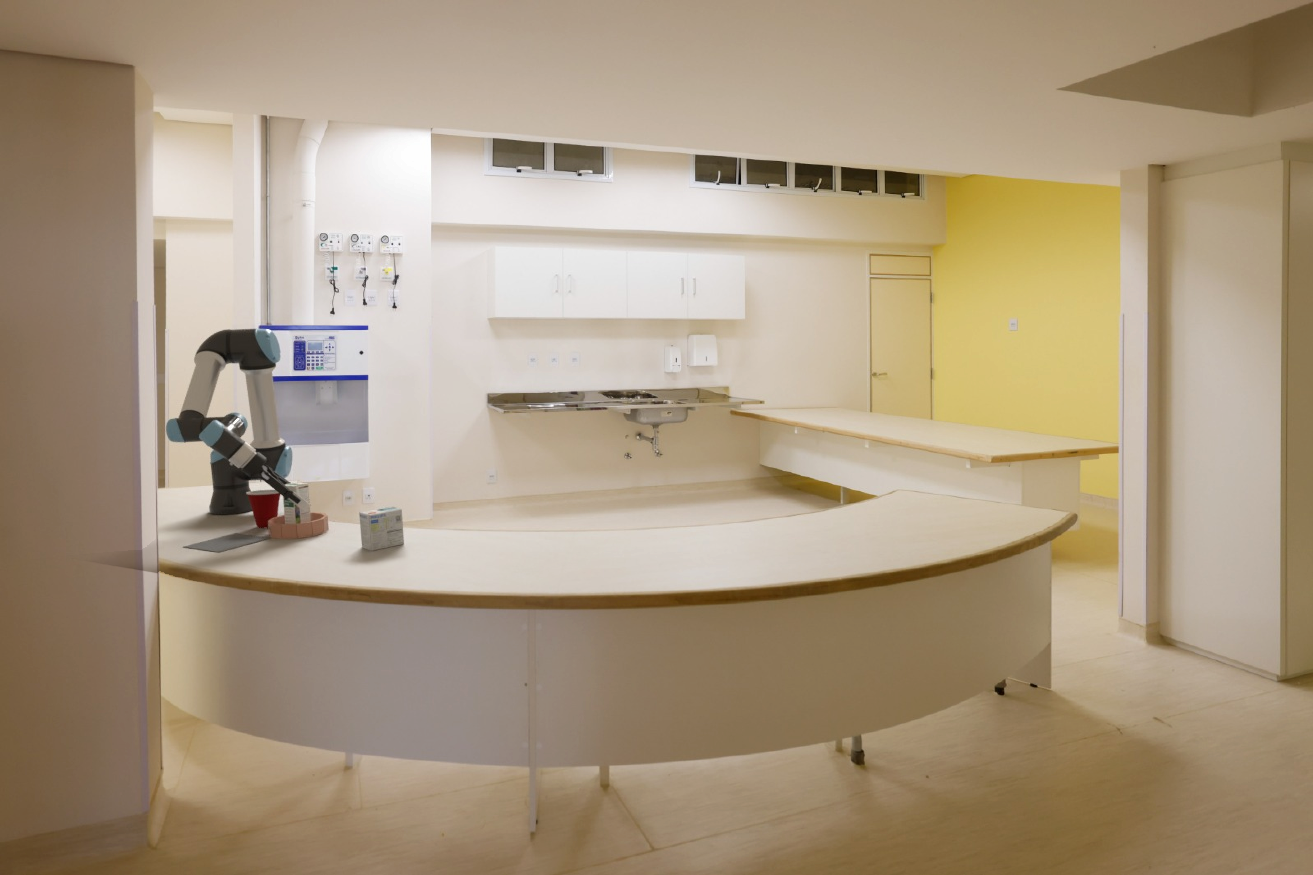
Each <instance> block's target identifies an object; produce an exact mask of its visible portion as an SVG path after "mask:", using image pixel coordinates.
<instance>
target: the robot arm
mask: <svg viewBox="0 0 1313 875" xmlns="http://www.w3.org/2000/svg"><path fill="white" fill-rule="evenodd" d="M277 337H278V336H276V334H275V333H274V332H273V331H272V330H271V329H267V328H241V329H240V328H239V329H237V328H236V329H230V328H229V329H222V330H218V331H216V332H214V333H213V334H212V335H210V336H208V337H207V338H206V339H205V340H204V341H203V342H201V344H200V346H198V349H197V350H196V353H195V354H194V355H195V356H194V359H193V361H194V363H195V366H194V370H193V372H192V376H191V378H190V382H189V384H188V387H187V391H186V395H185V396H184V400H183V404H182V406H181V410H180V412H179V415H178V418H177V417H174V418H170V419H168V420H167V422H166V426H165V432H166V435H167V439H168V440H169V441H170V442H172V443H185V444H186V443H195V442H202V443H204V444H205V445H206V446H207V447H209V448H210V449H212V451H211V452H210V463H209V464H210V472H211V478H212V479H211V480H212V481H211V482H212V495H211V499H210V504H209V508H208V510H209V514H212V515H234V514H242V513H246V512H251V511H252V507H251V503H250V500H249V497H248V495H247V494H246V492H250V491H252V490H251V488H250V482H251V481H263V482H265V483H266V484H267V485H268V486H270V487H271V488H272V489H273V490H276V491H277V492H278V493H280V496H282V498H283V497H284V500H287V499H289V500H290V501H291V502H293V503H294V504H295V505H297V506H298V507H299V508H300V509H302V510H303V511H304V512H305V511H306V510H307V509H308V508H309V507H310V508H311V506H312V505H311V503H310V504H309V503H308V502H307V501H305V500H304V499H303V498H301V497H300V496H299V495H298V494H296V493H295V492H293V491H291V490H290V489H289V488H288V487H287V486H285V484H289V483H292V482H290V481H289V480H287V479H286V478H287V477H289V475H290V473H291V470H292V466H293V449H292V447H291V446H288V445H287V444H286V440H285V439H284V438H282V437H281V435H280V434H281V433H280V426H279V418H278V412H277V400H276V393H275V386H274V377H273V371H274V370H275V369H276V368H277V363H279V362H280V361H281V348H280V343H279V340H278V338H277ZM228 364H238V365H239V370H240V371H241V372H243V373H244V375H245V383H246V391H247V397H248V405H249V413H250V420H251V421H250V422H251V427H252V428H251V429H252V436H253V440H252V442H250V444H249V443H248V442H247V441H245V440H244V439H242V437H243V436H244V435H245V433H246V432H247V429H248V427H249V426H248V425H249V424H248V420H247V418H246V417H245V416H244V415H243V414H241V413H238V412H230V413H227V414H226V415H224V416H212V417H211V416H210V417H207V416H208V413H209V410H210V406H211V403H212V400H213V396H214V393H215V390H216V388H217V384H218V380H219V377H220V374H221V372H222V371H223V370H225V369H226V365H228ZM309 500H310V501H311V498H310V497H309Z"/></svg>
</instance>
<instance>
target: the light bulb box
mask: <svg viewBox="0 0 1313 875" xmlns="http://www.w3.org/2000/svg"><path fill="white" fill-rule="evenodd" d="M358 515H359V524H360V525H359V526H360V540H361V548H363V549H365V550H368V551H370V552H373V551H376V550H383V549H385V548H391V547H395V546H400V545H404V544H405V538H404V522H403V521H404V520H403V510H402V508H398V507H394V506H387V507H382V508H376V509H372V510H365V511H359V514H358Z"/></svg>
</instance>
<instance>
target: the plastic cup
mask: <svg viewBox="0 0 1313 875" xmlns="http://www.w3.org/2000/svg"><path fill="white" fill-rule="evenodd" d="M246 494H247V495H248V497H249V500H250V503H251V507H252V510H251V511H252V514H253V515H252V516H253V518H254V520H255V524H256V528H258V529H269V528H268V520H270V519H272V518H274V517H278V515H279V514H278V513H279V505H280V504H279V503H280V497H281V494H280V493H278V492H277V491H276V490H275V489H260V490H259V489H257V490H251V491H250V492H246Z"/></svg>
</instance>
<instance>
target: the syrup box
mask: <svg viewBox="0 0 1313 875" xmlns="http://www.w3.org/2000/svg"><path fill="white" fill-rule="evenodd" d="M285 486H287V487H288V488H289V489H290V490H291V491H293V492H295V493H296V494H298V495H299V496H300V497H301V498H303V499H304V500H305V501H307V502H308V503H309V504H311V503H310V502H311V499H310V500H309V498H310V488H309V483H307V482H305V483H304V482H303V483H301V482H300V483H299V482H291V483H289V484H285ZM282 500H283V515H284V516H285V524H295V523H303V522H310V521H311V515H310V512H311V506H310V507H309V508H308V509H307V510H306V511H305V512H304V511H303V510H302V509H300V508H299V507H298V506H297V505H295V504H294V503H293V502H291V501H290V500H289V499H287V500H284V497H283V496H282Z"/></svg>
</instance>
